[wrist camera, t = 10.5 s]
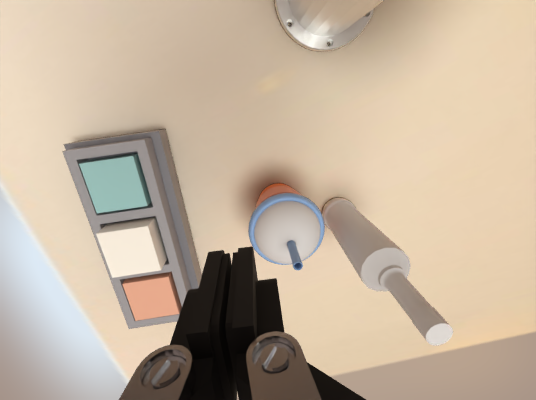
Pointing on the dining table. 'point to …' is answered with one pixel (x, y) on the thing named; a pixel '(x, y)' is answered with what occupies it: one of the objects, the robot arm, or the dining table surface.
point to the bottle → (383, 266)
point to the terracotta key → (152, 296)
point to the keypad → (143, 209)
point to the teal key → (116, 182)
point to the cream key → (132, 247)
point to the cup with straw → (285, 226)
